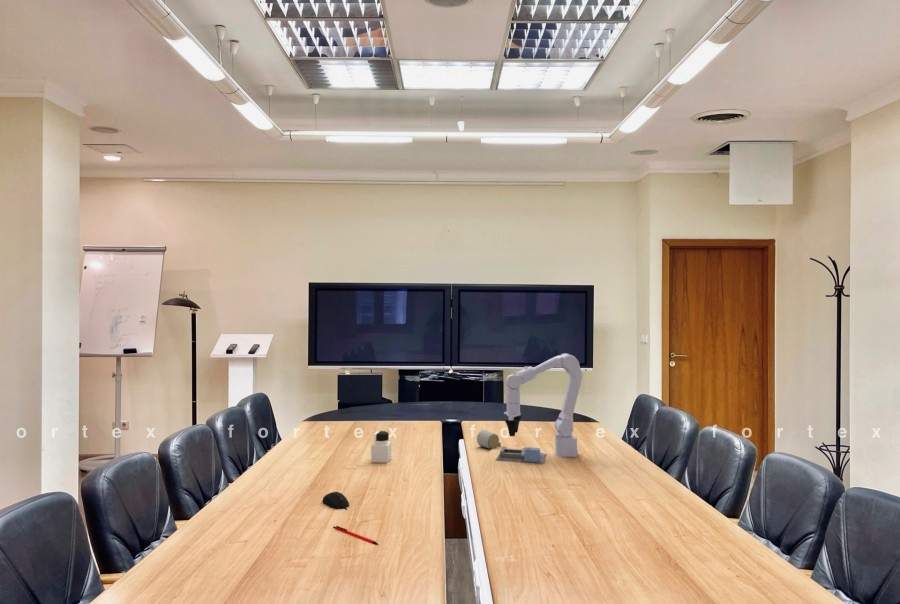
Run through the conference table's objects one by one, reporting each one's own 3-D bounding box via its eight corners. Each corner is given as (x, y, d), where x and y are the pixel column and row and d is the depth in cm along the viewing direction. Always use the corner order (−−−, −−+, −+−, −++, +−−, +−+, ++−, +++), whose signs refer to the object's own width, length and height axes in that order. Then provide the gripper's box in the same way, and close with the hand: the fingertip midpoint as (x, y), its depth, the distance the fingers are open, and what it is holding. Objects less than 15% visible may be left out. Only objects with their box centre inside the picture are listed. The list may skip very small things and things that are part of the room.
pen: (334, 528, 165) (334, 524, 165) (379, 545, 153) (379, 541, 153) (332, 529, 164) (332, 525, 164) (377, 546, 152) (377, 542, 152)
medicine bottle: (391, 458, 241) (391, 430, 241) (387, 462, 234) (387, 433, 234) (374, 458, 242) (374, 429, 242) (370, 462, 235) (370, 433, 235)
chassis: (547, 456, 245) (547, 449, 245) (543, 465, 230) (543, 458, 230) (501, 453, 250) (501, 446, 250) (495, 462, 235) (495, 455, 235)
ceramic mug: (488, 450, 254) (489, 433, 255) (476, 447, 261) (476, 430, 261) (505, 447, 261) (505, 430, 262) (492, 444, 268) (492, 427, 268)
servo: (543, 460, 235) (543, 446, 235) (543, 462, 231) (543, 448, 231) (522, 458, 237) (522, 445, 237) (521, 461, 233) (520, 447, 234)
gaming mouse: (340, 515, 176) (340, 502, 176) (318, 502, 188) (318, 490, 188) (358, 510, 180) (358, 497, 180) (336, 498, 192) (336, 486, 192)
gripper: (506, 399, 253) (507, 430, 252) (501, 404, 239) (501, 437, 238) (522, 400, 251) (522, 430, 251) (517, 405, 237) (518, 438, 237)
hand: (513, 434), depth 244 cm, fingers open, 7 cm apart
